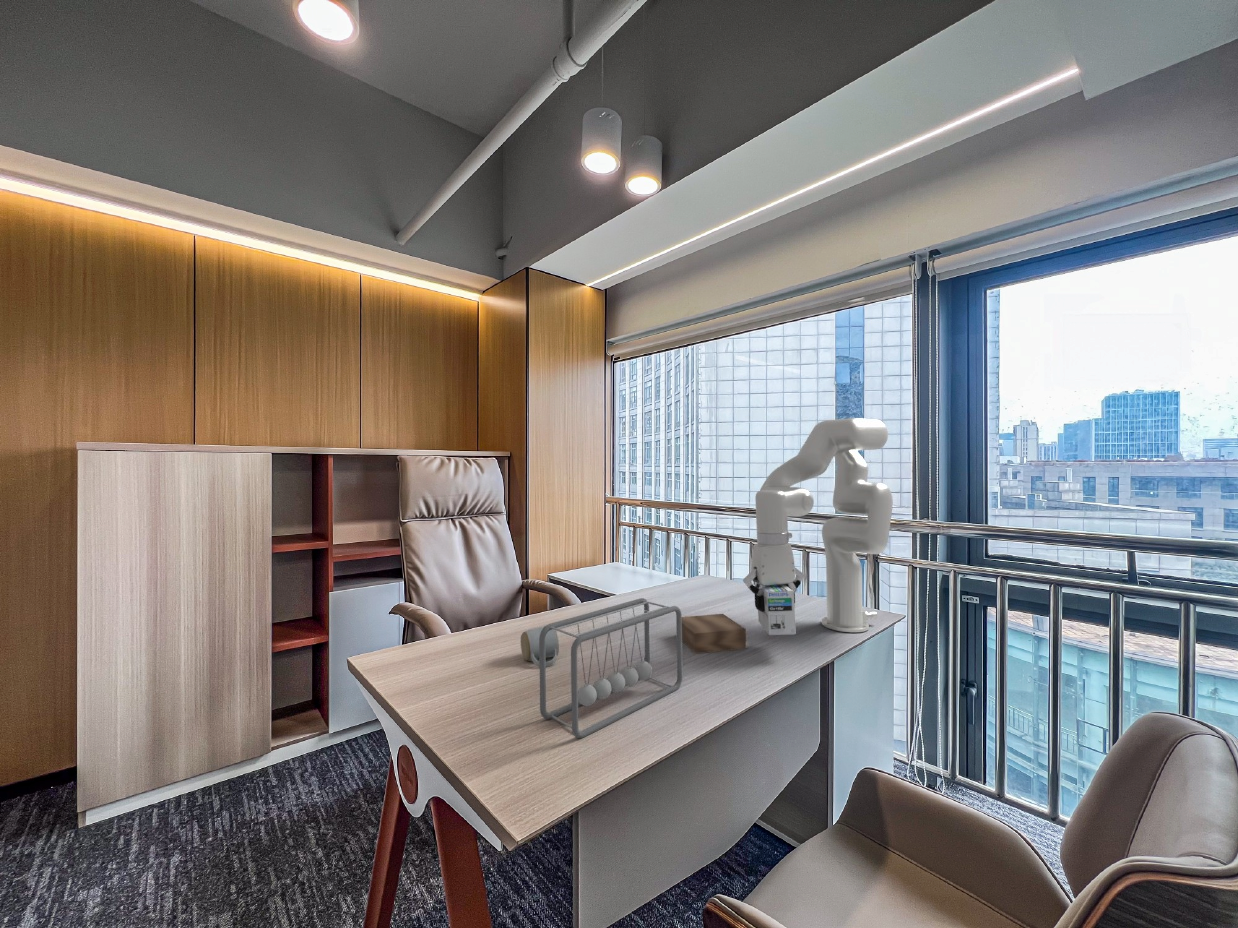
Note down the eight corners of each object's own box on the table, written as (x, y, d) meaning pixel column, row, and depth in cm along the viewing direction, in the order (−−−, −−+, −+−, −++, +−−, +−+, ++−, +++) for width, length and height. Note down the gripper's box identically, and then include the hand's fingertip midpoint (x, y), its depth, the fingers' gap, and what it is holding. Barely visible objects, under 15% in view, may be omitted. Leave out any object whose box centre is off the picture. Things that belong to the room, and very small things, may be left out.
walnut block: (723, 631, 142) (722, 613, 142) (746, 648, 128) (745, 628, 128) (676, 635, 139) (676, 617, 139) (695, 653, 125) (694, 633, 125)
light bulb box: (796, 634, 120) (795, 590, 119) (768, 636, 120) (766, 591, 120) (782, 620, 130) (781, 579, 130) (757, 621, 130) (755, 580, 130)
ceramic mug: (519, 655, 125) (518, 625, 125) (550, 649, 129) (549, 620, 129) (531, 671, 116) (531, 638, 115) (564, 664, 119) (564, 633, 119)
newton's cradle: (647, 673, 113) (646, 595, 113) (683, 687, 106) (682, 604, 106) (538, 721, 92) (537, 626, 92) (574, 743, 85) (573, 639, 85)
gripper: (795, 534, 130) (797, 600, 130) (733, 539, 126) (736, 608, 127) (812, 538, 123) (814, 609, 123) (747, 544, 119) (750, 617, 119)
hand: (775, 608), depth 125 cm, fingers closed on light bulb box, 7 cm apart
